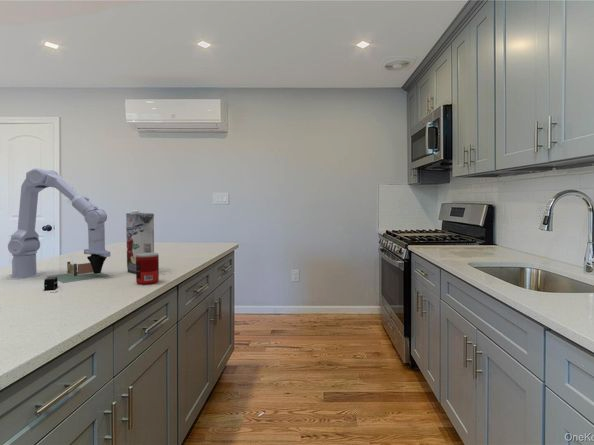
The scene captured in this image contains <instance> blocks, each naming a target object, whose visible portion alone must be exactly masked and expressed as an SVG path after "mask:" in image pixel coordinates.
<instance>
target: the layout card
mask: <svg viewBox="0 0 594 445" xmlns="http://www.w3.org/2000/svg"><path fill="white" fill-rule="evenodd" d="M47 277H57V279H58V282H59V283H62V284H66V283H67V284H68V283H73V282H80V281H86V280H87V281H88V280H93V279H99V278H106V277H111V275H109V274H107V273H104V272H101V273H98V274H95V273H94V272H91V273H83V274H78V271H77V276H74V275H71V274H69V273H67V272H66V273H61V274H54V275H46V278H47Z"/></svg>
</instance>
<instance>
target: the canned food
mask: <svg viewBox="0 0 594 445" xmlns="http://www.w3.org/2000/svg"><path fill="white" fill-rule="evenodd" d="M159 257H160V256H159V253H157V252H154V253H139V254H136V274H135V276H136V278H135V280H136V285H140V286H148V285H154V284H157V283H158V282H159V280H160V278H159V277H160V275H159V274H160V272H159V271H160V269H159V268H160V266H159V264H160V263H159V262H160V261H159V260H160V259H159Z"/></svg>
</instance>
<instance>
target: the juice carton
mask: <svg viewBox="0 0 594 445" xmlns="http://www.w3.org/2000/svg"><path fill="white" fill-rule="evenodd" d="M154 217H155V214H154V213H152V212H151V213H145V212H140V210H139V209H138V210H137V209H135V210H131V212H129V213H128V212H127V213H125V218H126V219H125V221H126V226H125V227H126V234H125V235H126V267H127V268H126V269H127V272H128V273H131V274H135V275H136V254H139V253H155V228H154V227H155V224H154V223H155V222H154V221H155V218H154Z"/></svg>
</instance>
